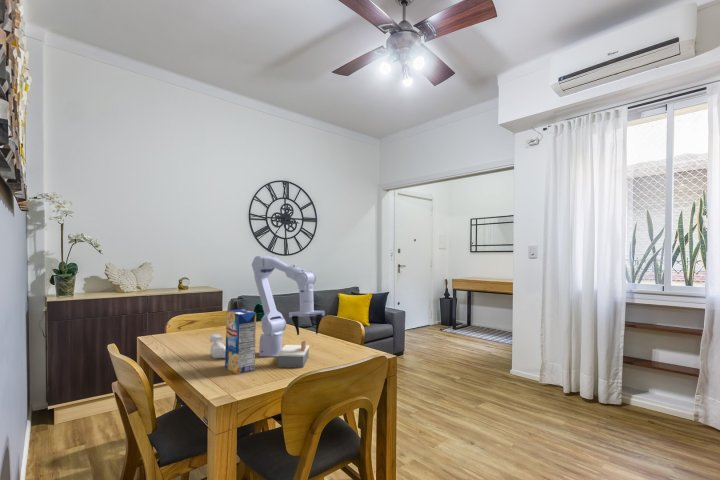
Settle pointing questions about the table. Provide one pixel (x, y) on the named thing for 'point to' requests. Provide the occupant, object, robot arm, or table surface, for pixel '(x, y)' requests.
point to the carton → (293, 360)
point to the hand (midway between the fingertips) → (307, 334)
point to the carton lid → (294, 350)
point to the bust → (217, 346)
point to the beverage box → (240, 341)
